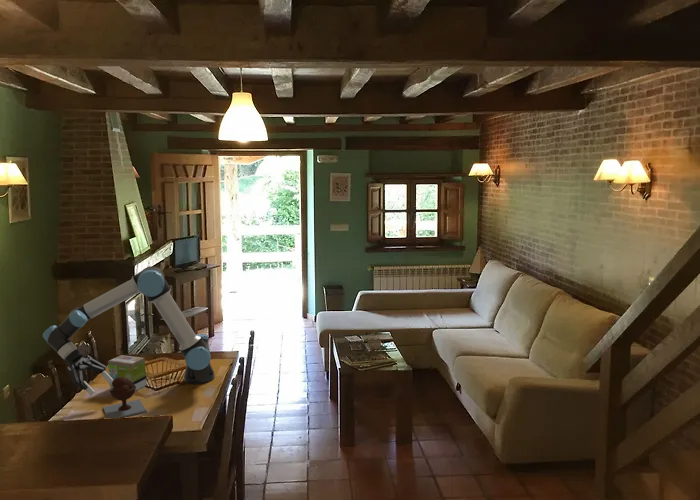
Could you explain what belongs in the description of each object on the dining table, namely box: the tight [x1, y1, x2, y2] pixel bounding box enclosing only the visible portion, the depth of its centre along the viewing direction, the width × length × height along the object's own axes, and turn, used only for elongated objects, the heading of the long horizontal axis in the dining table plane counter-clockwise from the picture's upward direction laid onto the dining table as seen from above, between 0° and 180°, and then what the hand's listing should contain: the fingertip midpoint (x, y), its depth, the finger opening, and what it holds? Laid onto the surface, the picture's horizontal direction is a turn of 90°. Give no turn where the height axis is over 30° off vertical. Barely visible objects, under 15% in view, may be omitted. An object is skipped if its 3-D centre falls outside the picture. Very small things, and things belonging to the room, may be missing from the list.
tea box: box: [107, 354, 148, 392], centre depth 306 cm, size 15×10×15 cm, turn 68°
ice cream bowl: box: [109, 377, 136, 411], centre depth 277 cm, size 11×11×15 cm
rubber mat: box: [102, 399, 147, 419], centre depth 278 cm, size 16×16×1 cm
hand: (102, 387), depth 279 cm, fingers open, 13 cm apart
